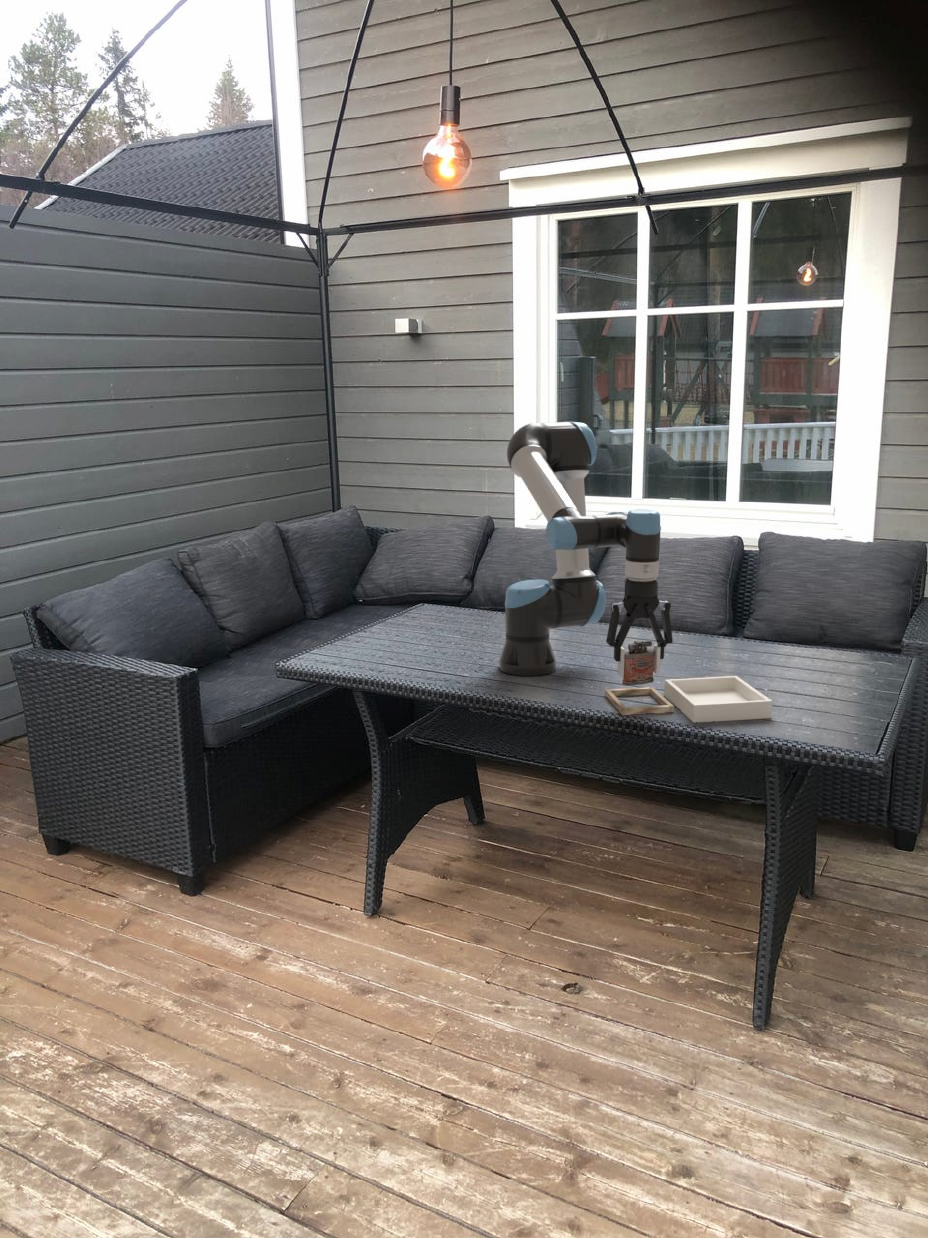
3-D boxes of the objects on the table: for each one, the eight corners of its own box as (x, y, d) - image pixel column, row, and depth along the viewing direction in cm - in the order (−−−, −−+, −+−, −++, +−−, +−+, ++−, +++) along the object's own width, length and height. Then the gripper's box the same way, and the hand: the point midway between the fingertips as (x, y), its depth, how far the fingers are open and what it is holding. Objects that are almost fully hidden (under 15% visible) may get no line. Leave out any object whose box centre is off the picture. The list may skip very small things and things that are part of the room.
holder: (622, 715, 219) (622, 709, 219) (605, 695, 234) (605, 689, 234) (673, 712, 221) (673, 706, 220) (653, 692, 235) (653, 687, 235)
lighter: (627, 686, 224) (628, 645, 221) (619, 682, 227) (620, 641, 224) (656, 682, 227) (658, 641, 224) (648, 678, 230) (649, 637, 227)
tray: (693, 722, 214) (694, 705, 213) (664, 695, 233) (664, 679, 232) (771, 718, 216) (772, 701, 215) (735, 691, 235) (736, 675, 234)
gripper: (601, 583, 216) (599, 680, 221) (691, 579, 218) (686, 675, 224) (593, 576, 223) (591, 670, 228) (679, 573, 225) (675, 666, 231)
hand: (638, 673), depth 226 cm, fingers closed on lighter, 8 cm apart
